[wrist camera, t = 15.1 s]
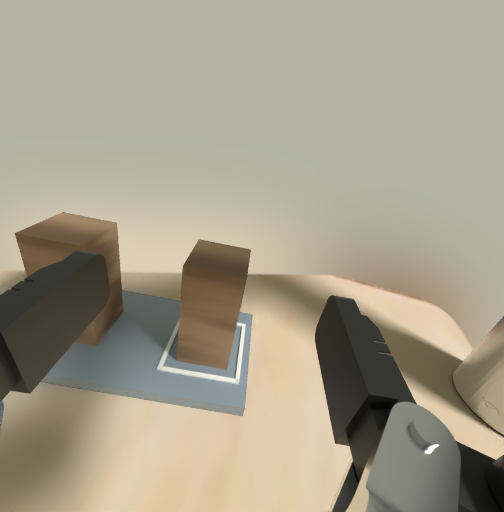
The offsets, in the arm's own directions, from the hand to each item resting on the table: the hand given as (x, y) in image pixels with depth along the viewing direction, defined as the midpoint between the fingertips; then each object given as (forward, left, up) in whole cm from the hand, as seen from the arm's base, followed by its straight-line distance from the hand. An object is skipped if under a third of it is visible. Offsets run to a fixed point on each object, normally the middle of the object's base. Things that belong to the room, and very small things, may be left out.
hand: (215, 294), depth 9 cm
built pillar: (+2, -18, -16) cm, 24 cm away
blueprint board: (-3, -14, -17) cm, 22 cm away
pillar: (-7, -9, -16) cm, 20 cm away
